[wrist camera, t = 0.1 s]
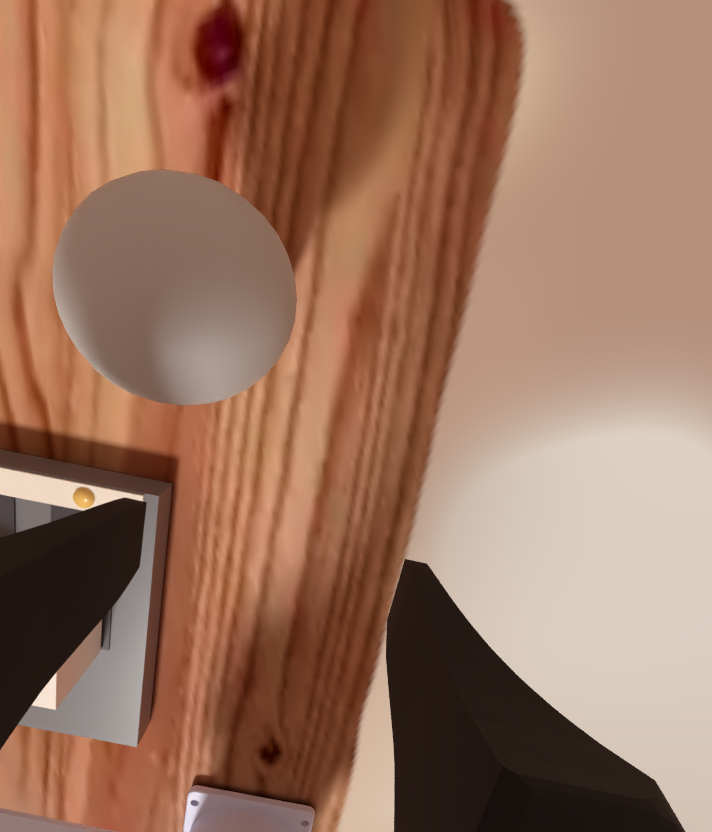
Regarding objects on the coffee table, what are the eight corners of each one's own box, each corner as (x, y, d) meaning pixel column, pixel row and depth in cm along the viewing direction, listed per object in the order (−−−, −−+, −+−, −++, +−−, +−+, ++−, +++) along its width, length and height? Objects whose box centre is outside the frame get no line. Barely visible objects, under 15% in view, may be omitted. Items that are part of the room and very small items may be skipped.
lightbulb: (294, 384, 21) (213, 474, 10) (172, 329, 20) (-43, 365, 10) (346, 259, 19) (315, 215, 9) (216, 198, 19) (17, 72, 8)
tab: (100, 651, 23) (55, 709, 20) (53, 642, 23) (0, 699, 20) (102, 604, 22) (56, 656, 19) (54, 594, 22) (-1, 646, 19)
